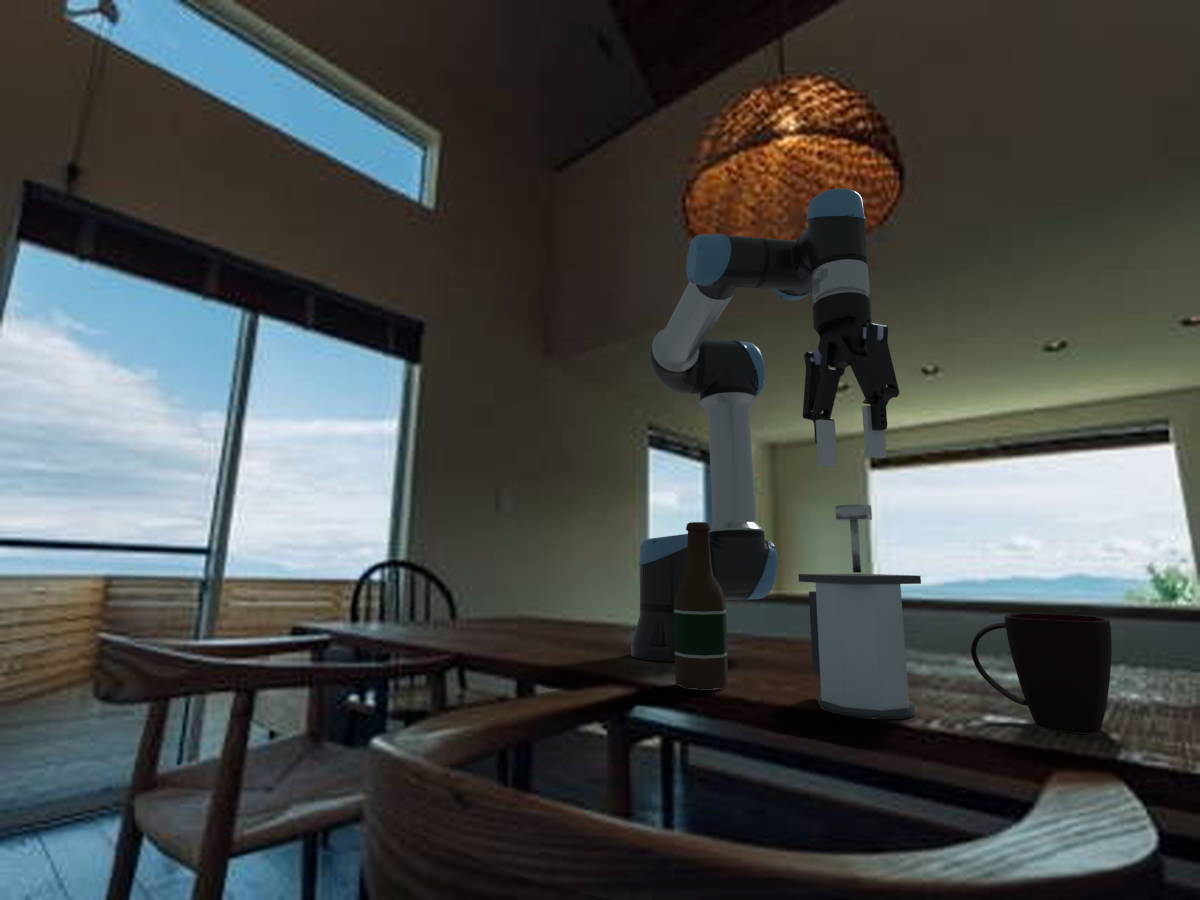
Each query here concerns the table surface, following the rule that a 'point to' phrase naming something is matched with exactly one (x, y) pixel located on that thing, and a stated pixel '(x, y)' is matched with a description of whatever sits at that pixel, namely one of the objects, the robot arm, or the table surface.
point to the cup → (1058, 668)
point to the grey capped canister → (860, 644)
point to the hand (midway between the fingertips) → (850, 461)
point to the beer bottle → (700, 618)
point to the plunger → (854, 527)
